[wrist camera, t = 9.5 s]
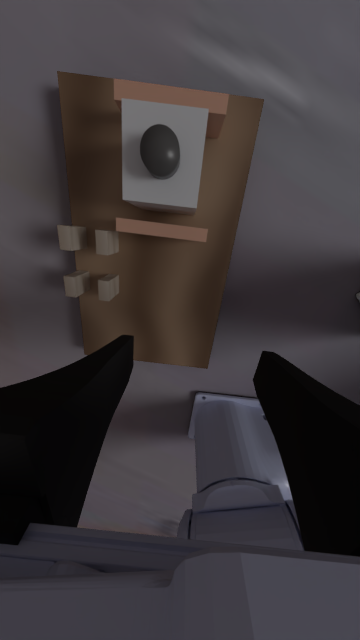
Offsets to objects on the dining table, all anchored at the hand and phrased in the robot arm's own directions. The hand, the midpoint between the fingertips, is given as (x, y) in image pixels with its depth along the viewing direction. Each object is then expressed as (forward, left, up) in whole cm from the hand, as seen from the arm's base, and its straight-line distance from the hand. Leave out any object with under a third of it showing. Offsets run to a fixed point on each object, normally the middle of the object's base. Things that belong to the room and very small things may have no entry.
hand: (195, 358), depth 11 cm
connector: (+3, -10, -8) cm, 13 cm away
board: (+4, -4, -9) cm, 11 cm away
